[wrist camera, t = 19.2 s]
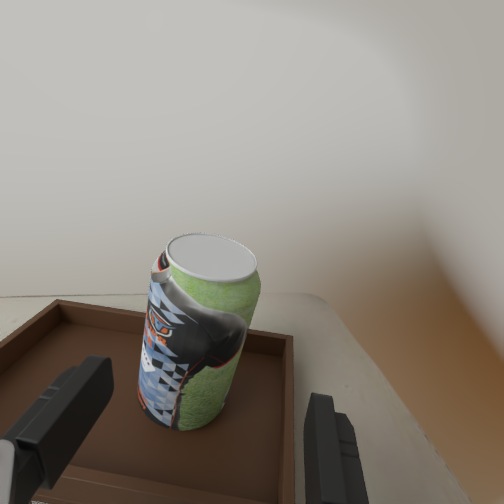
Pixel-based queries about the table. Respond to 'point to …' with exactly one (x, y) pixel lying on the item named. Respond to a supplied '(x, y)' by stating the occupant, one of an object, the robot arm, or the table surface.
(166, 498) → the serving tray
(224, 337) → the beverage can
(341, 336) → the table surface
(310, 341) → the table surface
